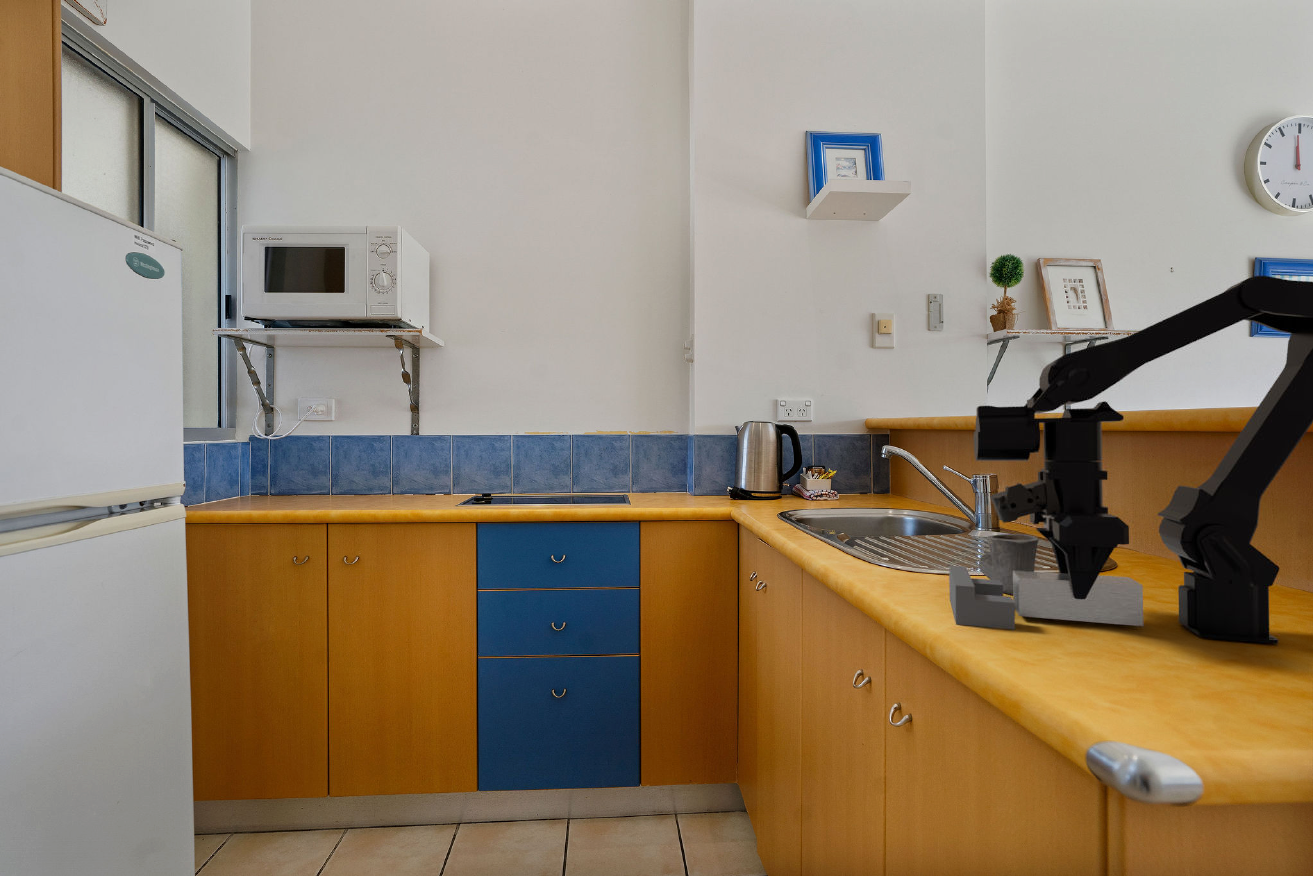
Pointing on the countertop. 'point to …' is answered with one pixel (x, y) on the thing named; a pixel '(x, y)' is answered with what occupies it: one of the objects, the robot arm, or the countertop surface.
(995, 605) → the grey u-shaped block
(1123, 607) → the long gray post
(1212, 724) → the countertop surface
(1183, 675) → the countertop surface
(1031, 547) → the grey tapered cup
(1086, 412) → the robot arm
